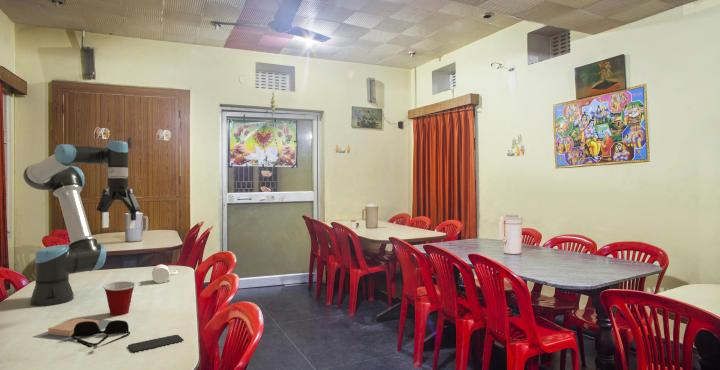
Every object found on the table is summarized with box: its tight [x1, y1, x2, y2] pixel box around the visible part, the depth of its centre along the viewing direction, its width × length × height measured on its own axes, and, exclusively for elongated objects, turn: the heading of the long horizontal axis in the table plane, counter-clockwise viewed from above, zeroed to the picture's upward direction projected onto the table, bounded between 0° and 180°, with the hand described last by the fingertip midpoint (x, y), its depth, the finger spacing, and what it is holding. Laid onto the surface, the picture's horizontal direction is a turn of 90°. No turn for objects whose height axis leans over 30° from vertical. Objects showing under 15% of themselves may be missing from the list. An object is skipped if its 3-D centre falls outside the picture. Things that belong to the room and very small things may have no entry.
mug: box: [151, 264, 179, 284], centre depth 222 cm, size 12×10×8 cm
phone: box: [127, 334, 184, 354], centre depth 134 cm, size 7×1×15 cm
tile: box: [47, 317, 99, 337], centre depth 144 cm, size 9×2×11 cm
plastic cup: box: [102, 280, 136, 317], centre depth 164 cm, size 11×11×12 cm
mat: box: [32, 317, 112, 343], centre depth 146 cm, size 16×20×1 cm
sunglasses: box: [71, 319, 131, 348], centre depth 134 cm, size 17×14×5 cm
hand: (118, 228), depth 181 cm, fingers open, 13 cm apart
